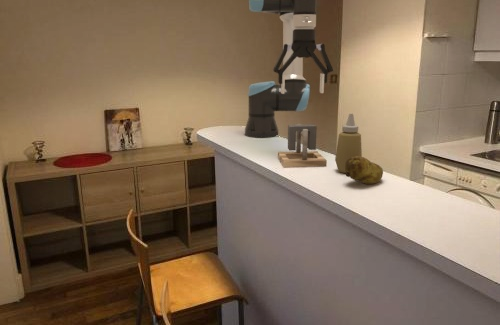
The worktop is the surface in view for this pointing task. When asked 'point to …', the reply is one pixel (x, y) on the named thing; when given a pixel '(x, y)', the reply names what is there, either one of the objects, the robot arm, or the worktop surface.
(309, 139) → the grey notched block
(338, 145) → the squeeze bottle
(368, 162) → the potato
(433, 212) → the worktop surface
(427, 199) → the worktop surface
